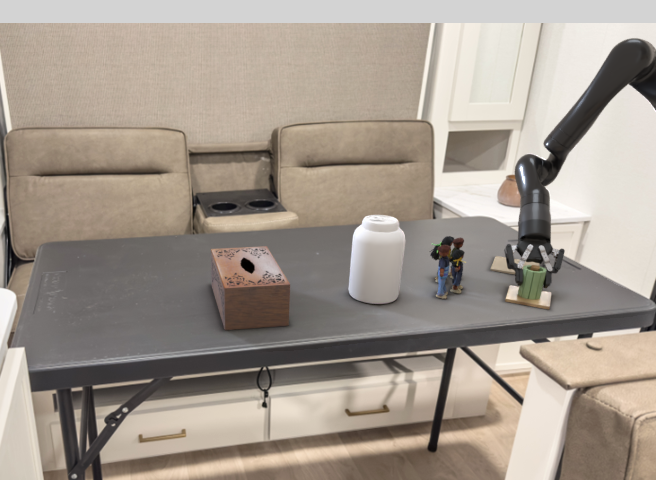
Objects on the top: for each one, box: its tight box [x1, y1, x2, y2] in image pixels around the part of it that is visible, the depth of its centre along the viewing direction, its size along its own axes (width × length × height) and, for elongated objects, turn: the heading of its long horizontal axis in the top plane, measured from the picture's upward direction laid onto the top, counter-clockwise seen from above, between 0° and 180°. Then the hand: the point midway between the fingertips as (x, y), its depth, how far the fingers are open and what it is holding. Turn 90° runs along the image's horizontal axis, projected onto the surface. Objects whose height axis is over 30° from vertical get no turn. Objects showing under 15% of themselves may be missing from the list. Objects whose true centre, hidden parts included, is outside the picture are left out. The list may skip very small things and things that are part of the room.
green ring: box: [518, 265, 546, 300], centre depth 144 cm, size 5×5×7 cm
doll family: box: [429, 235, 467, 300], centre depth 150 cm, size 23×9×13 cm, turn 170°
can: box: [348, 214, 406, 305], centre depth 142 cm, size 12×12×20 cm
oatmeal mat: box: [489, 255, 540, 275], centre depth 166 cm, size 12×12×1 cm
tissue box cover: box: [210, 245, 291, 331], centre depth 138 cm, size 26×14×10 cm, turn 10°
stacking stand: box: [504, 265, 552, 311], centre depth 144 cm, size 10×10×9 cm
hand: (533, 285), depth 143 cm, fingers closed on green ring, 5 cm apart
